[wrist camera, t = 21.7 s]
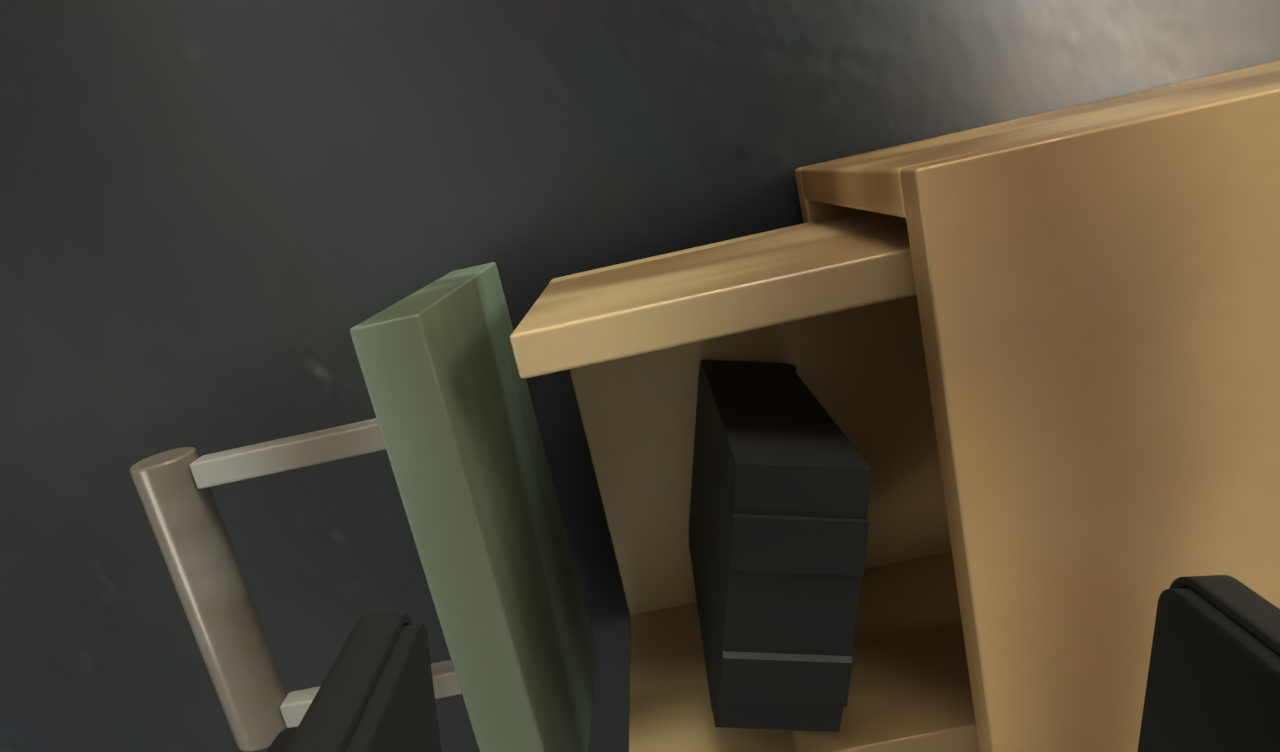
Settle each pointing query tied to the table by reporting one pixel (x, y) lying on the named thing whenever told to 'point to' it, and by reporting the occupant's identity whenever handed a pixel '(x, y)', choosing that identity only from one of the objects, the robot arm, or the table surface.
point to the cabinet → (1092, 379)
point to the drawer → (612, 491)
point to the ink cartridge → (775, 547)
